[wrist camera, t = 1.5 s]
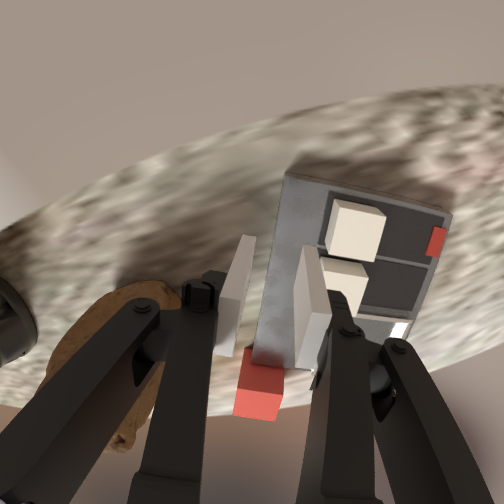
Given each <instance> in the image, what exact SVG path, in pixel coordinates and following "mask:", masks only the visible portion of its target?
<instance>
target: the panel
mask: <svg viewBox="0 0 504 504" xmlns="http://www.w3.org/2000/svg"><path fill="white" fill-rule="evenodd" d="M334 199H338V200H343V201H348V202H353V203H358V204H362V205H367V206H372V207H376V208H378V209H379V210H380V211H381V212H382V213H383V214H384V215H385V216H386V221H385V225H384V228H383V232H382V236H381V239H380V243H379V246H378V250H377V253H376V256H375V260H374V262H369V261H364V260H358V259H352V258H347V257H341V256H335V255H330V254H328V251H327V247H326V244H325V237H326V233H327V229H328V224H329V220H330V215H331V211H332V206H333V202H334ZM452 217H453V215H452V214H450V213H449V212H447V211H446V210H444V209H442V208H441V207H438V206H434V205H431V204H427V203H423V202H420V201H416V200H412V199H408V198H404V197H400V196H396V195H392V194H388V193H384V192H380V191H376V190H371V189H367V188H362V187H358V186H353V185H349V184H344V183H339V182H334V181H329V180H324V179H319V178H314V177H309V176H304V175H298V174H293V173H287V172H285V174H284V180H283V186H282V191H281V197H280V203H279V209H278V215H277V220H276V226H275V232H274V237H273V243H272V249H271V254H270V260H269V265H268V271H267V276H266V282H265V287H264V292H263V298H262V303H261V309H260V314H259V319H258V324H257V330H256V335H255V340H254V345H253V351H252V358H251V363H256V364H262V365H268V366H275V367H282V368H289V369H296V370H304V371H312V375H314V376H315V374H316V372H317V369H318V364H317V361H316V364H315V367H314V370H312V369H304V368H296V367H295V330H294V295H293V288H294V283H295V279H296V275H297V270H298V266H299V261H300V257H301V252H302V248H303V245H307V246H312V247H317V250H318V254H319V259H320V258H321V257H326V258H332V259H338V260H344V261H349V262H355V263H361V264H362V266H363V268H364V270H365V272H366V274H367V276H368V278H369V279H368V282H367V285H366V288H365V291H364V294H363V297H362V300H361V303H360V306H359V309H358V312H357V314H356V317H353V316H352V317H353V321H354V324H356V325H357V326H359V327H360V328H361V329H362V330H363V331H364V333H365V338H366V339H367V340H370V341H372V342H375V343H378V344H381V345H383V343H384V341H385V339H387V338H389V337H397V338H402V339H404V340H406V339H407V337H408V334H409V332H410V330H411V328H412V326H413V323H414V321H415V319H416V317H417V314H418V312H419V310H420V307H421V305H422V303H423V300H424V298H425V295H426V293H427V290H428V288H429V285H430V283H431V280H432V277H433V275H434V272H435V269H436V266H437V264H438V261H439V258H440V255H441V252H442V249H443V246H444V243H445V240H446V237H447V233H448V230H449V227H450V224H451V220H452Z"/></svg>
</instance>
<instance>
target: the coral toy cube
mask: <svg viewBox="0 0 504 504" xmlns="http://www.w3.org/2000/svg"><path fill="white" fill-rule="evenodd" d="M252 351H253V349H248V348H245V349H244V354H243V360H242V365H241V370H240V376H239V381H238V386H237V392H236V397H235V403H234V409H233V414H232V415H236V416H242V417H248V418H254V419H261V420H268V421H275V419H276V416H277V413H278V410H279V407H280V404H281V401H282V398H283V392H284V368H282V367H275V366H268V365H262V364H256V363H251V358H252Z"/></svg>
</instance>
